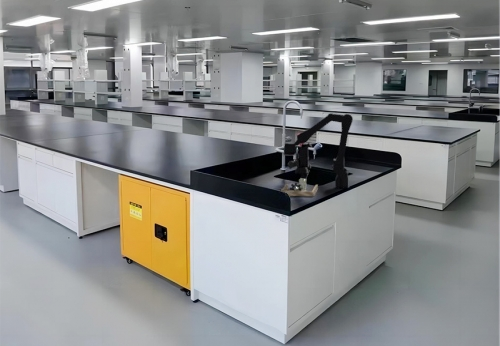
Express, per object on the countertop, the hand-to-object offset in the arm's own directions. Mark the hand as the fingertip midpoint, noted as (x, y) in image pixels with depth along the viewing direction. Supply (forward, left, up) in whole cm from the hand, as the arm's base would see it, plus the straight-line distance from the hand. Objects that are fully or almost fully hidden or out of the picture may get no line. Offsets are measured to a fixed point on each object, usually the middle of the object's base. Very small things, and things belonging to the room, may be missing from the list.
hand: (303, 183), depth 237 cm
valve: (0, +14, -2) cm, 14 cm away
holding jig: (0, +13, -2) cm, 13 cm away
